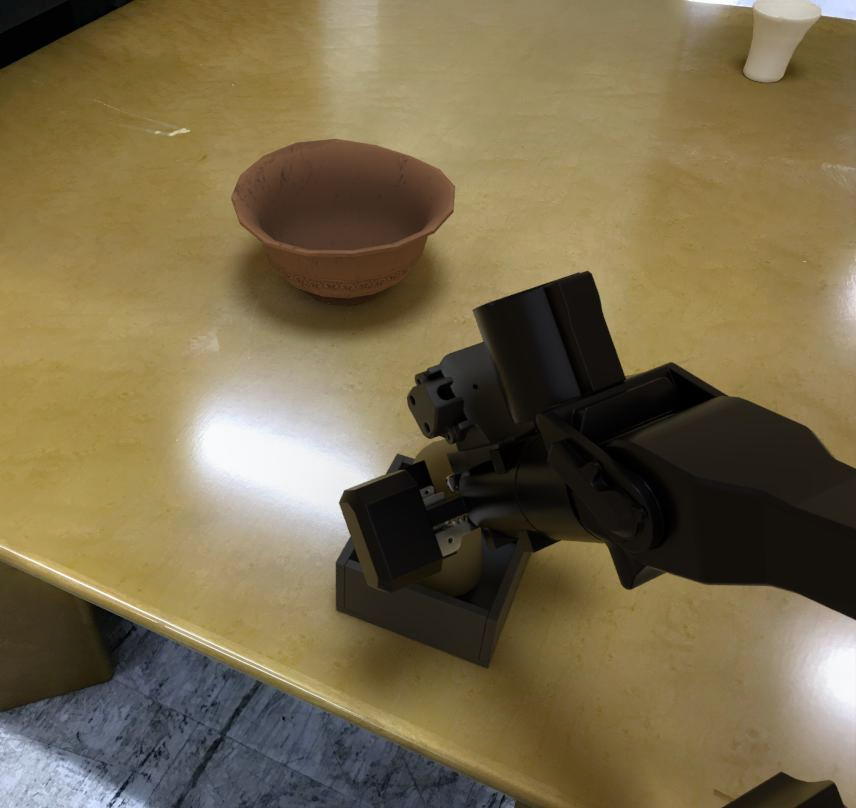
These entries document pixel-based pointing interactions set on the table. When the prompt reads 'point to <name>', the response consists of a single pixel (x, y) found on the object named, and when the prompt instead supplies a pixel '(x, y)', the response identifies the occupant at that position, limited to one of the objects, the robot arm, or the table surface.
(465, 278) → the table surface
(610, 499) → the robot arm
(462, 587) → the cork
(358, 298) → the bowl
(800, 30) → the cup
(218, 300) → the table surface
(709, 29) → the table surface
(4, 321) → the table surface
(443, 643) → the dark grey square box
